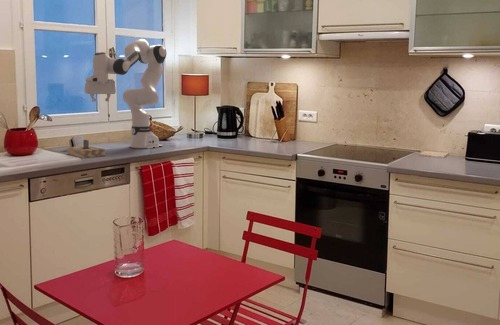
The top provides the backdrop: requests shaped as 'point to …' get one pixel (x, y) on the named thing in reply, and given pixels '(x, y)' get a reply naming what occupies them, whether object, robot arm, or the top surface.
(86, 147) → the peg
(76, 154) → the hole block
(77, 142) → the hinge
